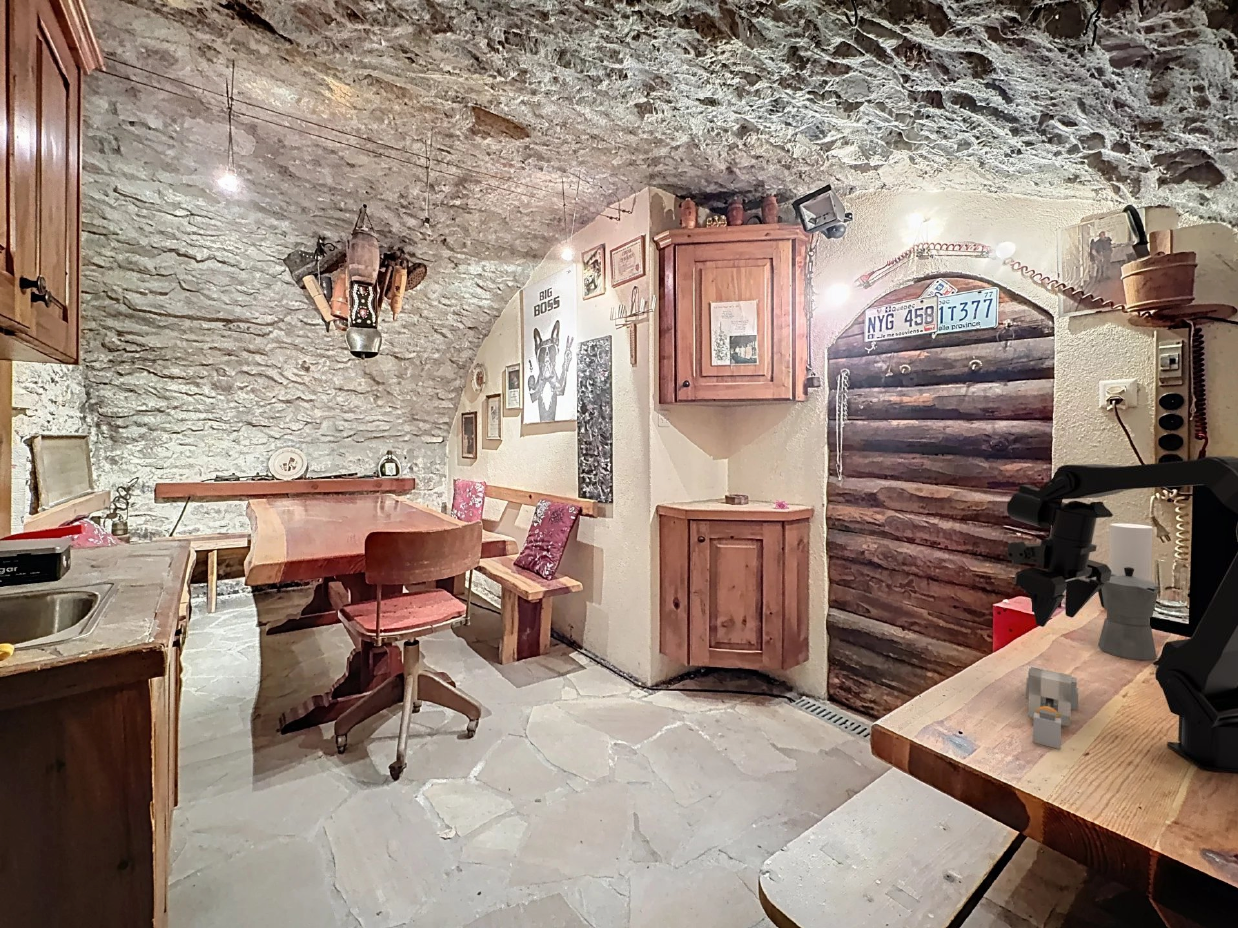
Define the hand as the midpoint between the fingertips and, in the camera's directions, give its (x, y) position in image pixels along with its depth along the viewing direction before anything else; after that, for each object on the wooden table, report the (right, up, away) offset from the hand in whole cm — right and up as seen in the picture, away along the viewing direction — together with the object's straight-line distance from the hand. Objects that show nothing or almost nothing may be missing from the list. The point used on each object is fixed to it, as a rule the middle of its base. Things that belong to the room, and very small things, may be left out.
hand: (1055, 620), depth 100 cm
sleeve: (-9, -13, -10) cm, 19 cm away
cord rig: (-8, -13, -9) cm, 18 cm away
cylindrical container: (+39, -11, +29) cm, 50 cm away
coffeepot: (+29, -12, +20) cm, 37 cm away
